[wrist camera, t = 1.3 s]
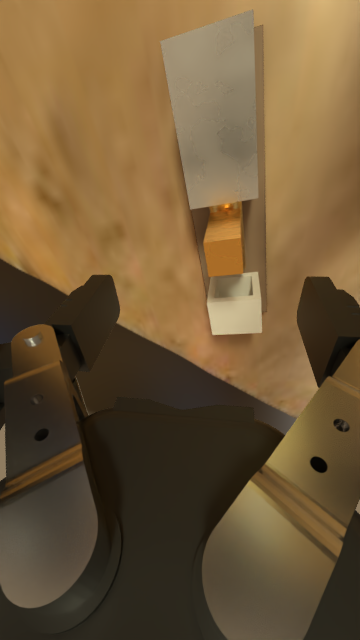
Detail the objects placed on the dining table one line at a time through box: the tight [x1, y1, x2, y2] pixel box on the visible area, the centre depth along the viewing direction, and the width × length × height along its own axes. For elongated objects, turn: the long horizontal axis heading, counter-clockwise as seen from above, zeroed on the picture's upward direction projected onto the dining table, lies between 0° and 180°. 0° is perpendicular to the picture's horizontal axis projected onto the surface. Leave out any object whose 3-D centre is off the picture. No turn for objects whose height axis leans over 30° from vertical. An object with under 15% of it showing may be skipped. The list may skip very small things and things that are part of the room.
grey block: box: [160, 10, 258, 210], centre depth 23 cm, size 6×11×6 cm, turn 12°
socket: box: [207, 272, 262, 335], centre depth 34 cm, size 6×5×6 cm
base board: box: [191, 25, 267, 312], centre depth 30 cm, size 8×28×1 cm, turn 12°
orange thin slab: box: [203, 201, 246, 277], centre depth 23 cm, size 3×17×10 cm, turn 12°
